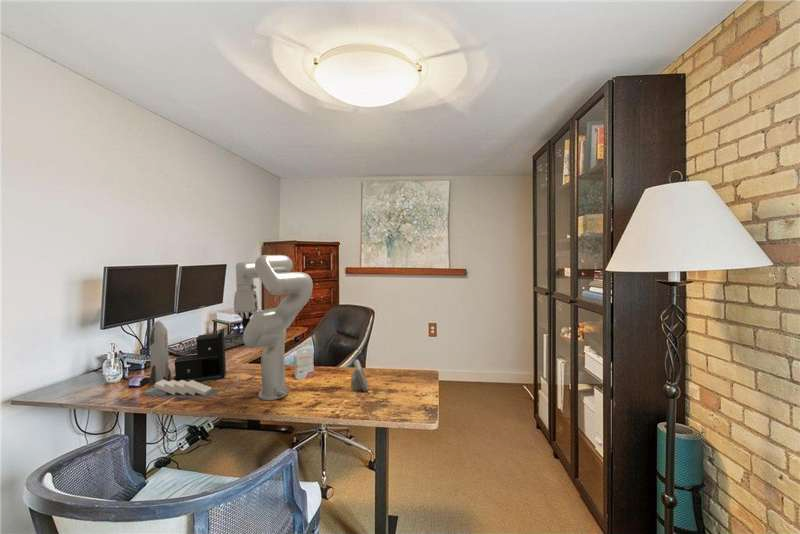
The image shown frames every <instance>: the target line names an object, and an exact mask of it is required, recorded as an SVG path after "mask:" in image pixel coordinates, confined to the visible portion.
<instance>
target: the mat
mask: <svg viewBox="0 0 800 534" xmlns="http://www.w3.org/2000/svg"><path fill="white" fill-rule="evenodd" d="M222 390H223V389H222V388H212V390H211V392H209V393H207V394H206V395H201V394H199V393H197V394H196V395H192V394H189V393H188V394H186V395H182V394H180V393H177V394H175V395H173V394H170V393H168V394H167V395H159V397H157V398H163V399H164V398H165V399H166V398H170V399H171V398H172V399H173V398H176V399H178V398H179V399H182V398H183V399H185V398H186V399H210V398H212V397H213V396H215V395H216V394H218V393H219V392H221V391H222Z"/></svg>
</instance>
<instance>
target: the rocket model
mask: <svg viewBox="0 0 800 534" xmlns="http://www.w3.org/2000/svg"><path fill="white" fill-rule="evenodd" d="M168 338H169V336H168V329H167V327H165V325H164V323H163V322H162V321H160V320H157V321H155V322H154V323H153V325H152V328H151V329H150V330H149V351H150V352H149V355H150V356H149V357H150V375H149V379H148V386H149V387H152V386H154V385H155V383H157V382H159V381H161V380H163V379H164V380H166V381H168V382H169V381H171V376H172V375H171V369H170V367H169V366H170V364H169V339H168Z"/></svg>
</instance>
